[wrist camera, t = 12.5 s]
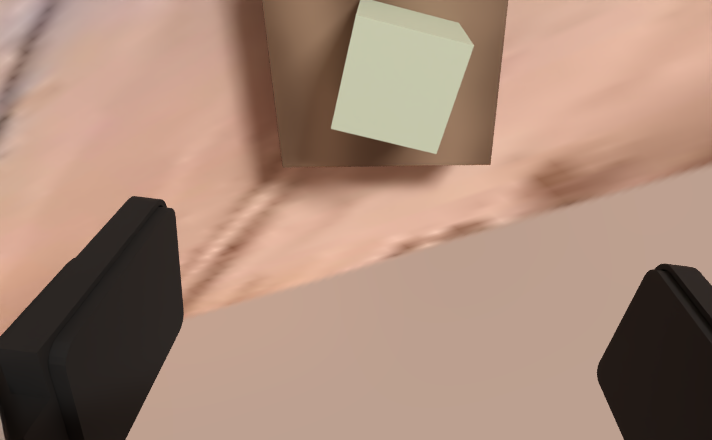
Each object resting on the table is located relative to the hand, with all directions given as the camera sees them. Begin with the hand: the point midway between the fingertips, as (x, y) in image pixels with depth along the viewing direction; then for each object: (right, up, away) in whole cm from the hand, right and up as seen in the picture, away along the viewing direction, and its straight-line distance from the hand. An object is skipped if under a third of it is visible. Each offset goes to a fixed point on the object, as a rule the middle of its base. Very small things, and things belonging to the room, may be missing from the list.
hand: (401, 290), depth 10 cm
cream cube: (+1, +10, +16) cm, 19 cm away
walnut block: (+1, +12, +20) cm, 24 cm away
